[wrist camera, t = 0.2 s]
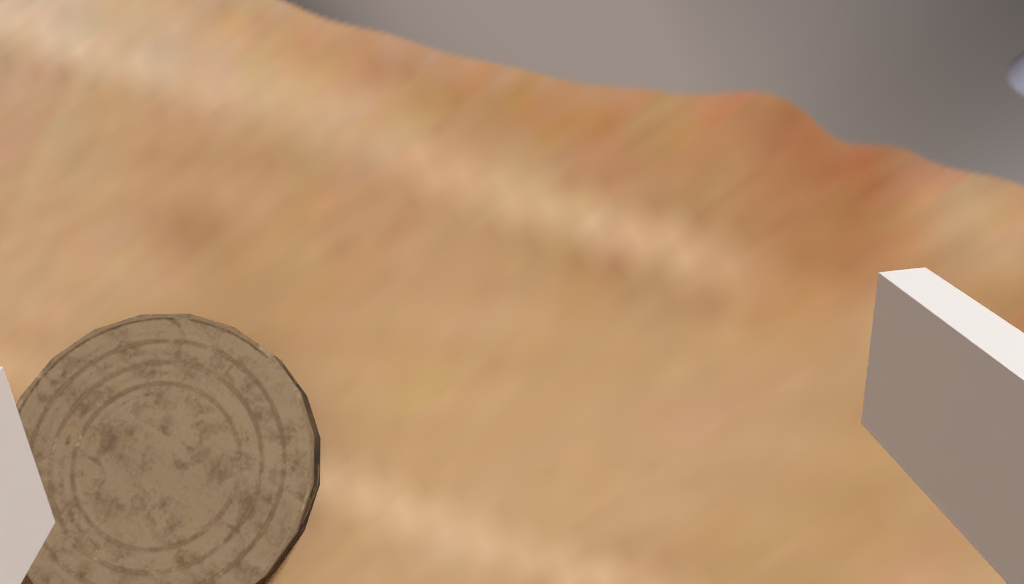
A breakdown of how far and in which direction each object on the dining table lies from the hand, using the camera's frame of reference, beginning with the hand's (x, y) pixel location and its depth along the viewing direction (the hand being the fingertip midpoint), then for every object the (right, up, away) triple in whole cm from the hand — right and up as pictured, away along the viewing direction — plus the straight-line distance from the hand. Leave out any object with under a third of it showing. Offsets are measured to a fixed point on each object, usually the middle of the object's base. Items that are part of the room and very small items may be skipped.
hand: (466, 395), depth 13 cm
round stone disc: (-18, -8, +34) cm, 40 cm away
